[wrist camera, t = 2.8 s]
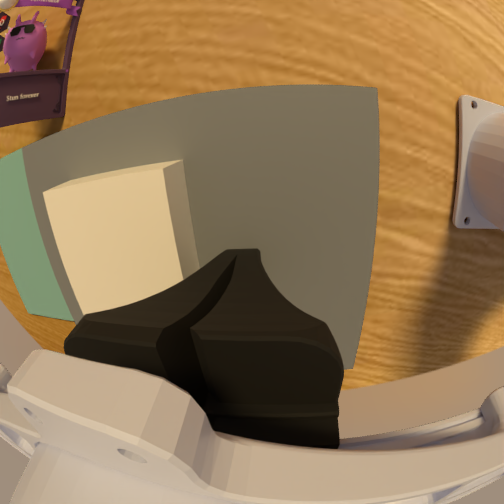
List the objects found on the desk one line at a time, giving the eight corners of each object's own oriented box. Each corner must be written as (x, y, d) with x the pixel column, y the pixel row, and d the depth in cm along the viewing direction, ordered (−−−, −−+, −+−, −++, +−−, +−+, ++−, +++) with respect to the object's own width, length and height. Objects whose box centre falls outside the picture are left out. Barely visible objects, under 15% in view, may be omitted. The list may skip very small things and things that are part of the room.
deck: (352, 95, 12) (377, 87, 8) (343, 324, 18) (352, 368, 14) (65, 137, 14) (21, 148, 10) (114, 319, 20) (90, 353, 17)
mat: (54, 134, 14) (51, 134, 14) (107, 323, 20) (105, 325, 20) (-16, 168, 15) (-19, 169, 15) (30, 311, 22) (28, 313, 22)
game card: (-27, 134, 8) (3, -18, 4) (-36, 136, 9) (-17, 14, 5) (69, 116, 13) (92, -10, 9) (40, 119, 15) (56, 14, 11)
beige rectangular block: (182, 159, 10) (162, 168, 9) (214, 339, 14) (205, 367, 12) (70, 180, 11) (42, 192, 9) (117, 331, 15) (103, 354, 13)
